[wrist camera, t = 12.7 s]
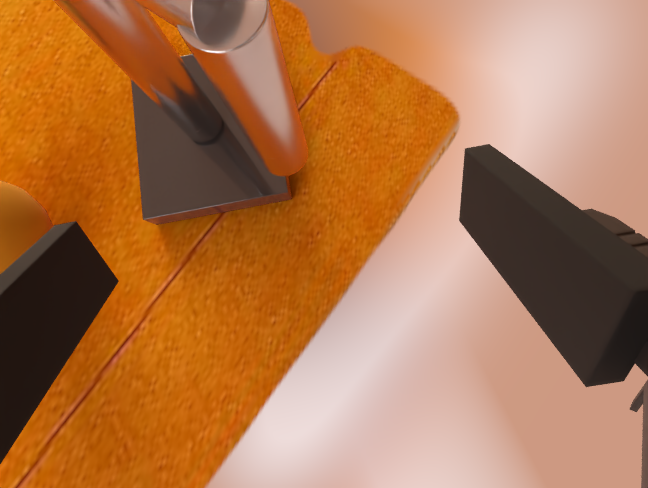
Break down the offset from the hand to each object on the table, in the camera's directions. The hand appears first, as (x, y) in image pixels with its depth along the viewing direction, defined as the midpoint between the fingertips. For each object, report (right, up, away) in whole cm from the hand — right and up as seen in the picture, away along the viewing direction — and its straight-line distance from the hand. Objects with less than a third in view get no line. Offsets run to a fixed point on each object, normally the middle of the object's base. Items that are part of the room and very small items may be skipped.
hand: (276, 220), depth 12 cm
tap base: (-8, +9, +18) cm, 22 cm away
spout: (-4, +6, +15) cm, 17 cm away
